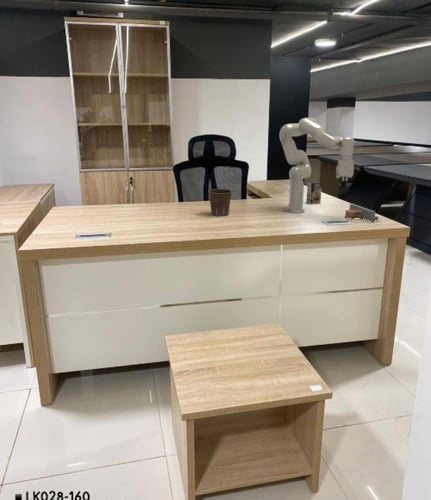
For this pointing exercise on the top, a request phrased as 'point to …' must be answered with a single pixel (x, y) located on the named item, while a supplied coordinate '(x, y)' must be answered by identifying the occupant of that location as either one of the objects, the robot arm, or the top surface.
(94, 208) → the top surface
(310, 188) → the coffee box
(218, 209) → the plant pot
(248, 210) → the top surface
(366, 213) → the board
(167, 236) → the top surface
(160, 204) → the top surface
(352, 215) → the walnut block
